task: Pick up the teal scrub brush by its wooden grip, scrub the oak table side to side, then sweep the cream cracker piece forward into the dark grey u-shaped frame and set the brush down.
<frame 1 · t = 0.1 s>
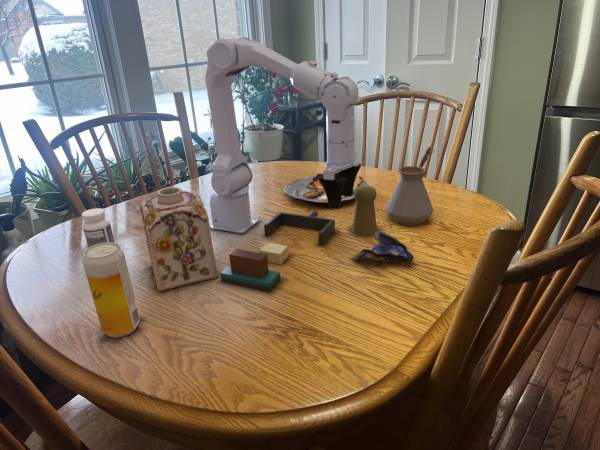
hand: (340, 201, 96), 10 cm above the table, tool pointing down, fingers open, 7 cm apart
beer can: (122, 328, 74), on the table
olive pepper shaker: (364, 231, 105), on the table
dark grey u-shaped frame: (299, 233, 105), on the table
pill bottle: (103, 252, 101), on the table
food plate: (327, 194, 130), on the table
decorative jar: (183, 273, 91), on the table
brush: (250, 281, 86), on the table
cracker: (274, 258, 94), on the table
coffee pot: (414, 212, 114), on the table
snack package: (384, 259, 92), on the table
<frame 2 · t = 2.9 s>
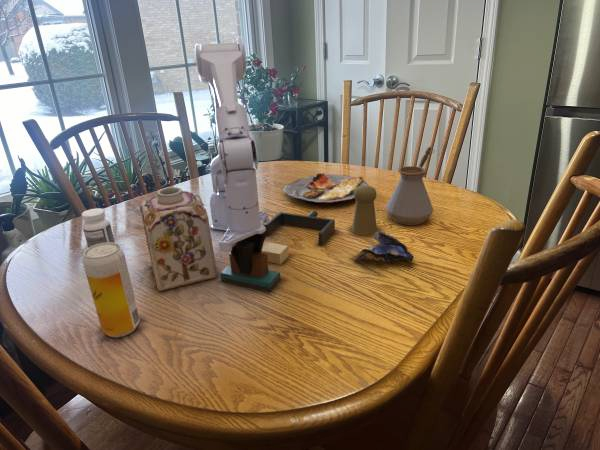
hand: (249, 268, 85), 3 cm above the table, tool pointing down, fingers closed on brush, 2 cm apart
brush: (251, 281, 86), on the table, touching gripper
everything else where it was.
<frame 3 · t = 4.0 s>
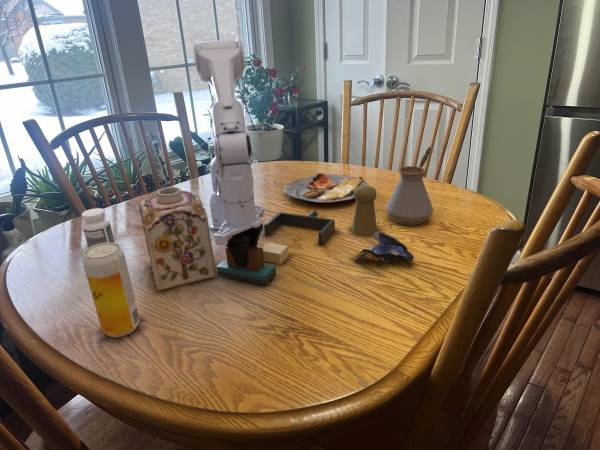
hand: (245, 262, 86), 3 cm above the table, tool pointing down, fingers closed on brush, 2 cm apart
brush: (246, 274, 87), point 1 cm above the table, touching gripper
everything else where it was.
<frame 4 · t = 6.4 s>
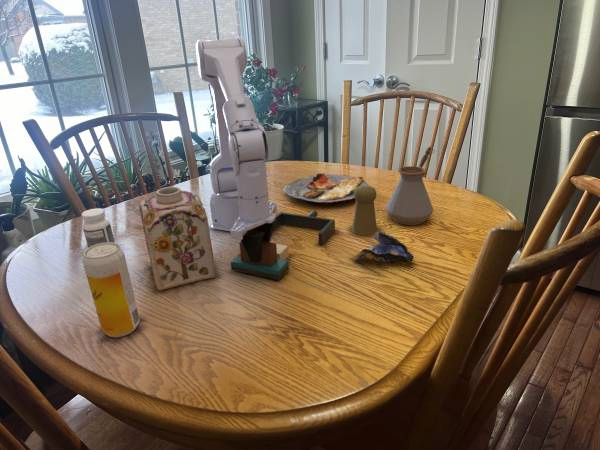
hand: (258, 257, 88), 3 cm above the table, tool pointing down, fingers closed on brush, 2 cm apart
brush: (260, 269, 89), point 1 cm above the table, touching gripper
everything else where it was.
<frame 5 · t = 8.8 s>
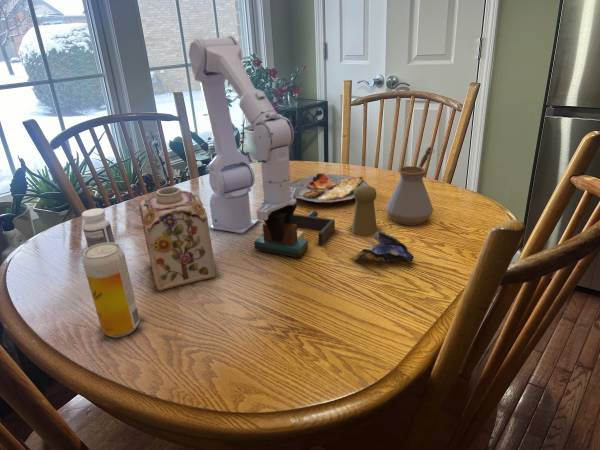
hand: (280, 237, 96), 3 cm above the table, tool pointing down, fingers closed on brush, 2 cm apart
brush: (281, 249, 97), point 1 cm above the table, touching gripper
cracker: (290, 243, 101), on the table
everything else where it was.
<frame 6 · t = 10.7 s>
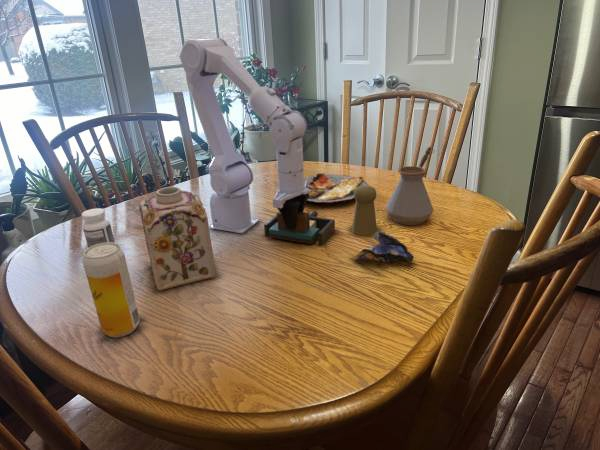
hand: (293, 225, 101), 3 cm above the table, tool pointing down, fingers closed on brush, 2 cm apart
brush: (294, 236, 102), point 1 cm above the table, touching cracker, gripper
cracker: (303, 231, 106), on the table, touching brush
everything else where it was.
when the fingers open (3 cm above the table, at t = 13.4 s): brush stays where it is, on the table.
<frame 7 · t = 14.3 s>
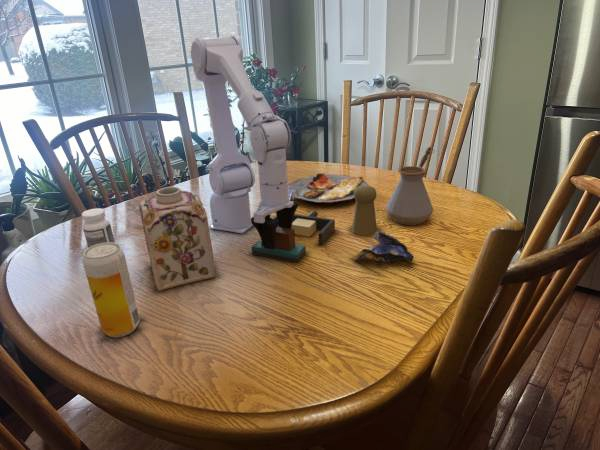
hand: (277, 240, 95), 3 cm above the table, tool pointing down, fingers open, 7 cm apart
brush: (278, 254, 96), on the table
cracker: (303, 231, 106), on the table
everything else where it was.
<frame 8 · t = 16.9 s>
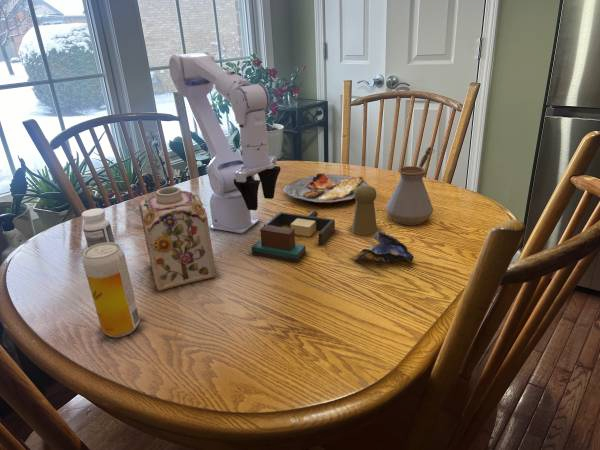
hand: (261, 203, 98), 9 cm above the table, tool pointing down, fingers open, 7 cm apart
nothing on the table moved.
at the end: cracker inside the target area on the dark grey u-shaped frame (1.6 cm from its centre), point 0.0 cm above the dark grey u-shaped frame's base; the gripper is holding nothing; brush tilted 0° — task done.
